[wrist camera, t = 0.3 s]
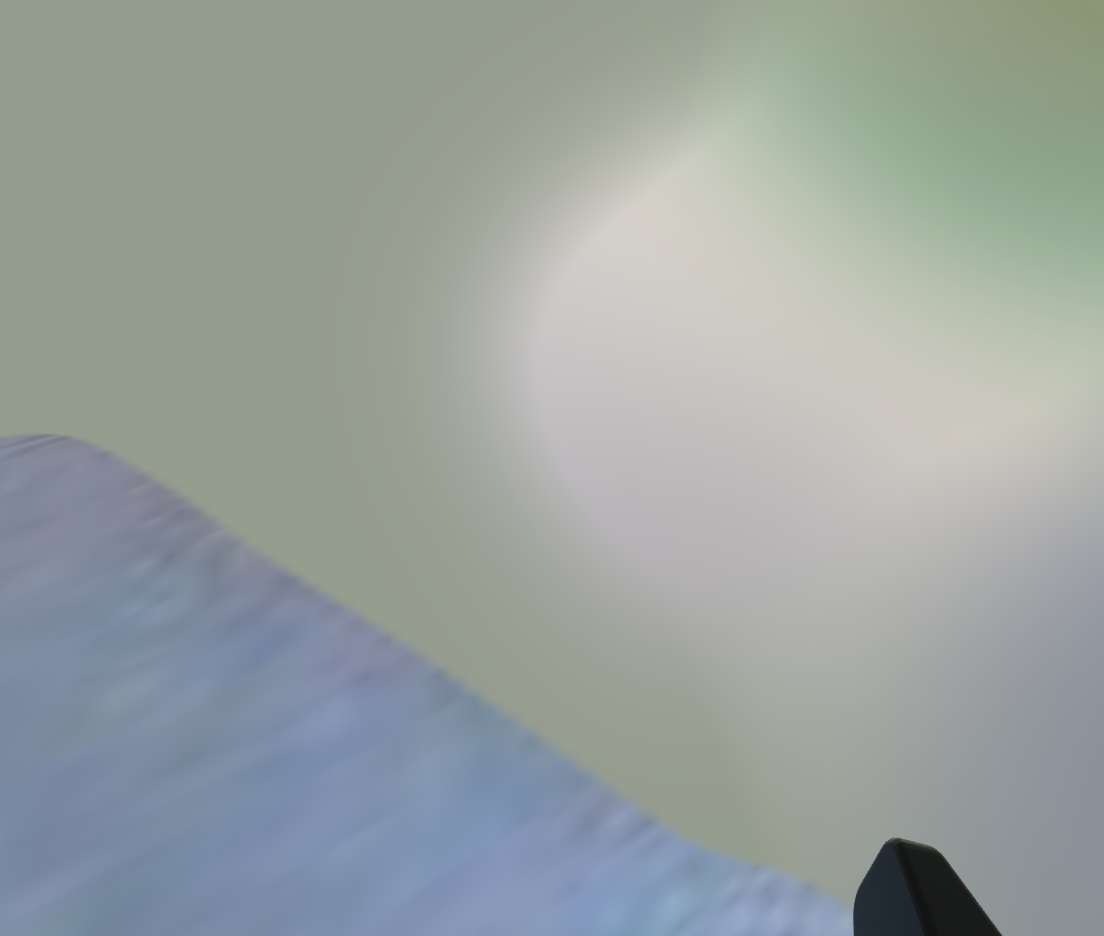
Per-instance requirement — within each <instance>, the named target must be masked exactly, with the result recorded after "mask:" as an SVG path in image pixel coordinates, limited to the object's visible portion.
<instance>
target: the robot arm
mask: <svg viewBox="0 0 1104 936" xmlns="http://www.w3.org/2000/svg"><path fill="white" fill-rule="evenodd" d="M853 925H854V936H1002V935H1001V933H1000V932H999V930H998V929H997V928H996V926H995V925H994V924H993V922H992V921H991V920H990V918H989V917H988V916H987V914H986V913H985V912H984V910H983V909H982V907H981V906H980V905H979V903H978V902H977V901H976V899H975V898H974V897H973V895H972V894H971V893H970V891H969V890H968V889H967V887H966V886H965V885H964V883H963V882H962V880H961V879H960V878H959V876H958V875H957V874H956V872H955V871H954V870H953V868H952V867H951V866H950V864H949V863H948V862H947V860H946V859H945V858H944V856H943V855H942V854H941V853H940V852H939V851H937V849H935V848H933V847H931V846H928V845H924V844H921V843H916V842H913V841H909V840H905V839H901V838H892V839H890V840H888V841H886V843H885V844H884V845H883V847H882V848H881V850H880V852H879V854H878V855H877V857H876V859H875V861H874V862H873V864H872V866H871V867H870V870H869V871H868V873H867V874H866V876H865V878H864V879H863V881H862V883H861V885H860V886H859V889H858V891H857V894H856V898H855V902H854V911H853Z"/></svg>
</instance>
